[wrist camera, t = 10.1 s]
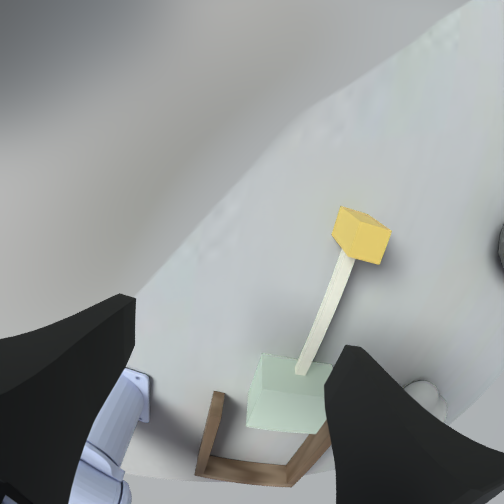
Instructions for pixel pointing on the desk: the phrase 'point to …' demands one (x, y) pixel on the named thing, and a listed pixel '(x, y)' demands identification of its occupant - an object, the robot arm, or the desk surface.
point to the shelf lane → (250, 470)
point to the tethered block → (312, 341)
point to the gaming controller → (501, 246)
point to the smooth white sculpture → (428, 398)
